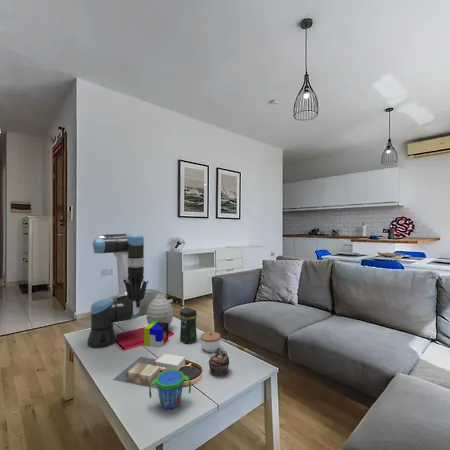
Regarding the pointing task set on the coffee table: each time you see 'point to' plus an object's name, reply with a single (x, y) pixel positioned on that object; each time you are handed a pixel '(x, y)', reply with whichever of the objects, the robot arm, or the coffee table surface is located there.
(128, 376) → the oak slab
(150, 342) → the puzzle toy
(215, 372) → the cupcake
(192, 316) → the coffee jar
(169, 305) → the vase
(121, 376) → the mat
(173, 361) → the cream slab
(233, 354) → the coffee table surface
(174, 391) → the snack cup
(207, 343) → the lidded jar
